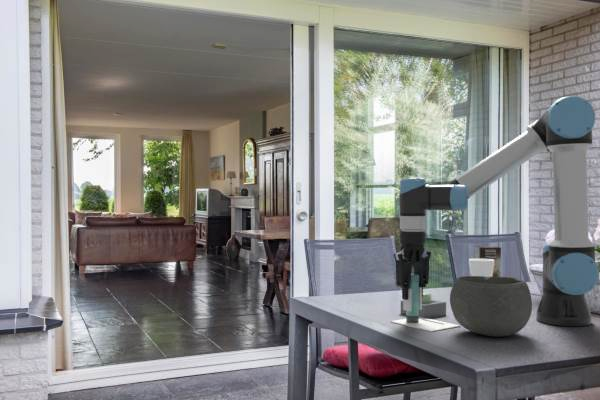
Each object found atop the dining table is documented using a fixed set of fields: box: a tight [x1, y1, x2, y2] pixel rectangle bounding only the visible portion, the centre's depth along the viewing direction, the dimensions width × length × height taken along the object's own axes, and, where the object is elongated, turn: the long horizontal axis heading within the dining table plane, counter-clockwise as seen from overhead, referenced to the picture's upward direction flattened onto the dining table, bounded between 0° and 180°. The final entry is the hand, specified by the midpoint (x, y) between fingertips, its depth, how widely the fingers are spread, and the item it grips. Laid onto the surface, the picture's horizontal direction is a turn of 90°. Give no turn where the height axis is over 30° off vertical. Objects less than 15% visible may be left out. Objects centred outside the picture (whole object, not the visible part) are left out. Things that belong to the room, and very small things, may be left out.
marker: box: [405, 273, 419, 323], centre depth 180 cm, size 4×4×14 cm
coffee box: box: [474, 245, 502, 277], centre depth 259 cm, size 9×6×16 cm
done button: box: [422, 291, 432, 304], centre depth 193 cm, size 5×5×5 cm
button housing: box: [400, 299, 447, 319], centre depth 193 cm, size 10×10×4 cm
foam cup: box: [468, 258, 494, 277], centre depth 235 cm, size 10×9×13 cm
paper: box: [390, 317, 461, 333], centre depth 178 cm, size 16×12×1 cm
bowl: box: [449, 275, 533, 338], centre depth 165 cm, size 21×21×15 cm
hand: (412, 309), depth 180 cm, fingers closed on marker, 3 cm apart
